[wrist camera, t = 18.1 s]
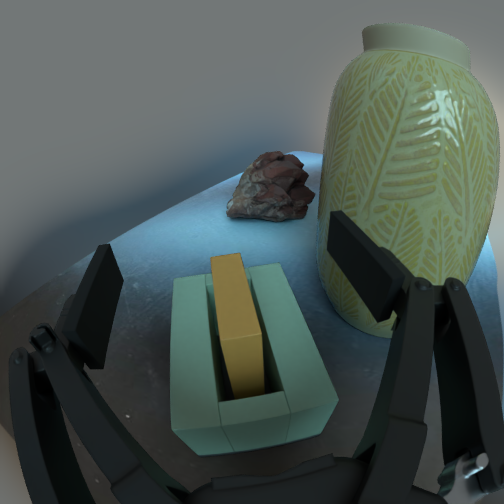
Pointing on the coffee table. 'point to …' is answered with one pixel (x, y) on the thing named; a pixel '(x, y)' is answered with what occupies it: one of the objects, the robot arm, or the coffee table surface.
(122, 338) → the coffee table surface
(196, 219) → the coffee table surface
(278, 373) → the toaster
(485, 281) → the coffee table surface
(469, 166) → the vase
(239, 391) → the toast
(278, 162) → the mineral specimen
